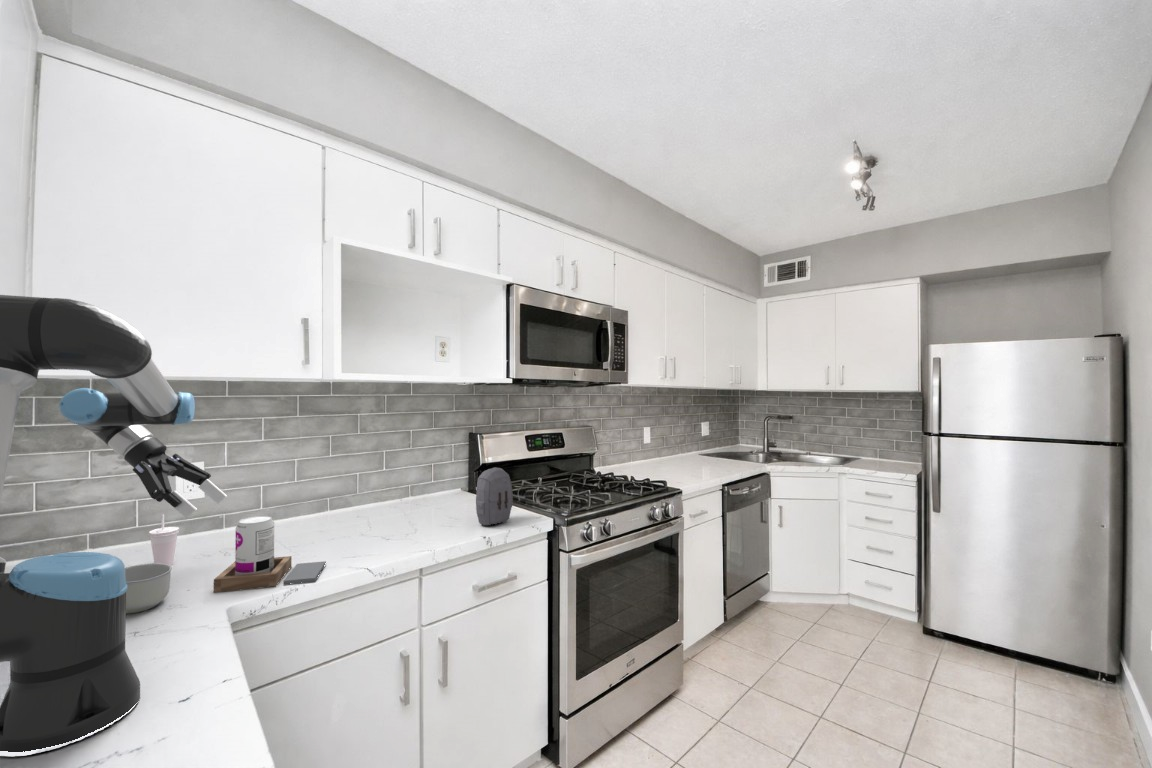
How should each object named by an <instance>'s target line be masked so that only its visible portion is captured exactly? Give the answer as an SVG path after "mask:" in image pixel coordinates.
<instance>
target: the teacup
mask: <svg viewBox="0 0 1152 768" xmlns="http://www.w3.org/2000/svg"><path fill="white" fill-rule="evenodd" d="M172 568H173V567H172V565H171V566H170V565H168V564H163V563H154V562H153V563H142V564H136V565H131V566H127V567H126V566H125V578H126V584H127V587H128V589H127V591H126V614H135V613H136V614H137V613H141V612H144V611H147V610H149V609H152V608H154V607H156V606H157V605H159V604H160V603H161V602H162V601H163V600H164V599H165V598H166V597H167V596H168V594H169V592H170V588H171V575H172V573H171V572H172Z"/></svg>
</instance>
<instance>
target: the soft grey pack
mask: <svg viewBox="0 0 1152 768" xmlns="http://www.w3.org/2000/svg"><path fill="white" fill-rule="evenodd" d="M513 499H514V496H513V483H512V481H511V476H510V474H509V473H508V472H506V471H505V470H504V469H503V468H501V467H492V468H488V469H487V470H484V471H482V472H481V474H479V476H478V478H477V483H476V495H475V509H476V510H475V511H476V512H475V513H476V516H477V519H478V523H479V524H480V525H482V524H483V526H492V525H491V524H495V525H498V524H497V523H499V524H502V523H504V522H507V521H508V520H510V517H511V511H512V508H513ZM501 522H502V523H501Z"/></svg>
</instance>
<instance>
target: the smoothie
mask: <svg viewBox="0 0 1152 768" xmlns="http://www.w3.org/2000/svg"><path fill="white" fill-rule="evenodd" d="M179 532H180V527H179V526H165V514H164V513H162V514H161V527H160V528H155V529H151V530H150V531H148V537H149V538H150V544H151V551H152V557H153V563H163V564H168V565H170V566H171V567H172V566H173V565H174V560H175V553H176V547H177V540H178V533H179Z"/></svg>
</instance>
